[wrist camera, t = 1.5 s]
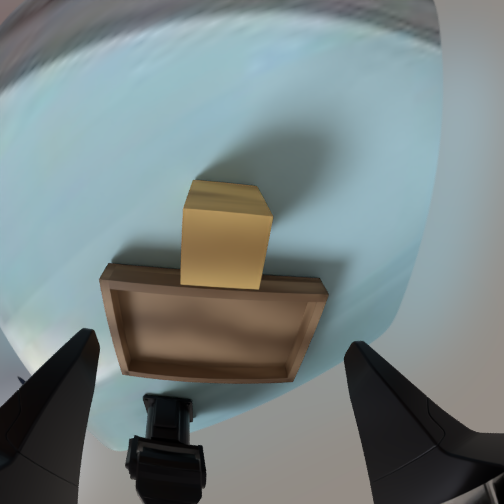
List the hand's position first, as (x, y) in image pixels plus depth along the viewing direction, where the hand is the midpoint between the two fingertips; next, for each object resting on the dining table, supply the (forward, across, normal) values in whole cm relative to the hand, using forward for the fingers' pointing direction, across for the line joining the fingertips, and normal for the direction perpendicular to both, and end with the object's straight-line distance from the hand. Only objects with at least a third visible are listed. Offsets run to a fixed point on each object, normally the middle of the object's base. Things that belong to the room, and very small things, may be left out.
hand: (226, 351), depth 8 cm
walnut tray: (+12, 0, +12) cm, 17 cm away
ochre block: (+13, 0, +1) cm, 13 cm away
